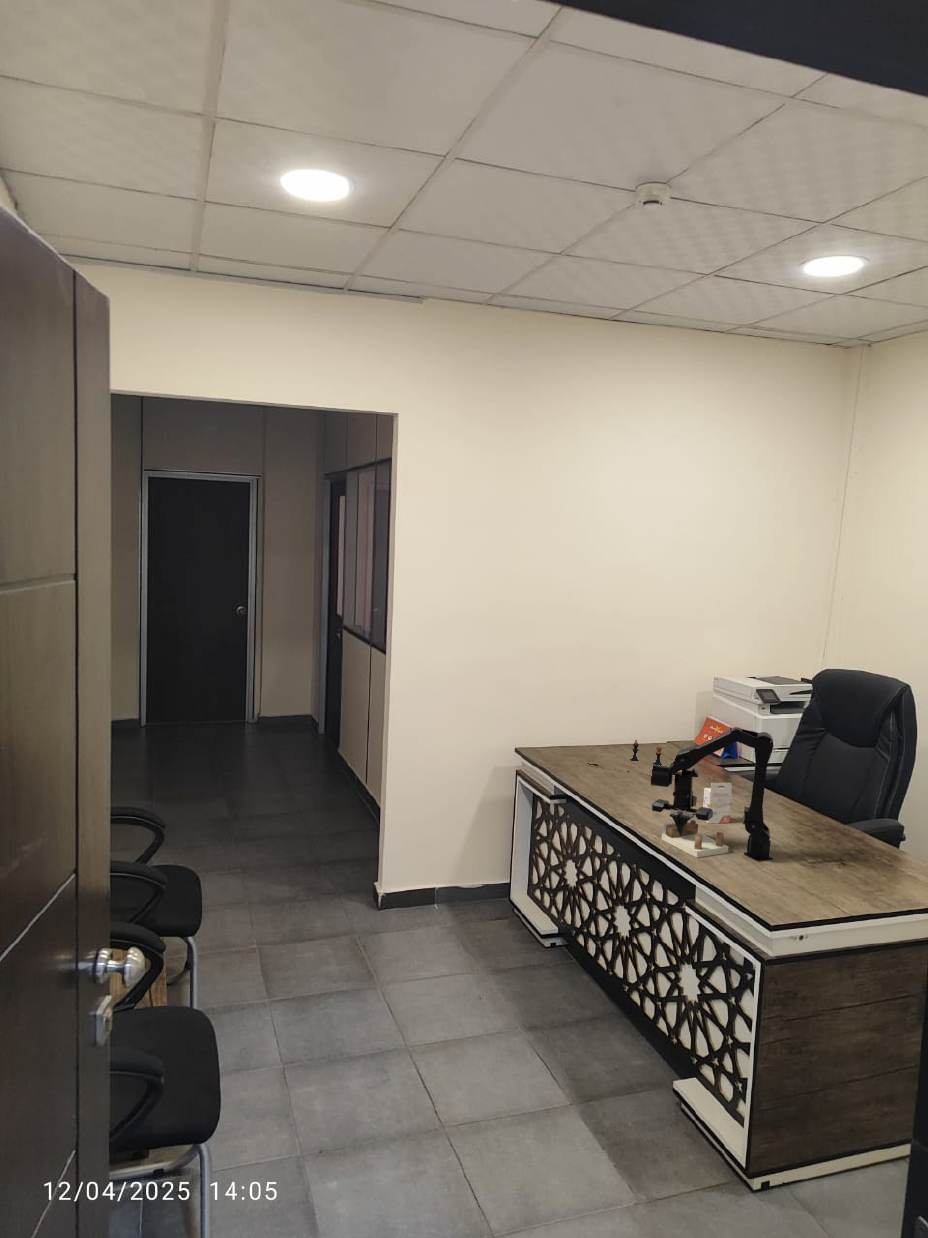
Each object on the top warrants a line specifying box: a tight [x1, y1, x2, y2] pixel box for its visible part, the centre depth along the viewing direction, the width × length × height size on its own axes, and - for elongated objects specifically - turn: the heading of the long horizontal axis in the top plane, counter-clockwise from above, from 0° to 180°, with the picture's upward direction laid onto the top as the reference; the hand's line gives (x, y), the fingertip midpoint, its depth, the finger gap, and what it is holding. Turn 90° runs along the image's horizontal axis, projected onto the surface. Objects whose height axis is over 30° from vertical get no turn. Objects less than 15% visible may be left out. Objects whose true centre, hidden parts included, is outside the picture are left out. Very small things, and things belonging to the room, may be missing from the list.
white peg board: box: [661, 822, 729, 858], centre depth 280 cm, size 17×13×6 cm
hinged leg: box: [666, 819, 699, 837], centre depth 284 cm, size 12×2×4 cm, turn 120°
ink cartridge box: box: [702, 782, 733, 824], centre depth 306 cm, size 9×5×15 cm, turn 101°
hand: (680, 835), depth 280 cm, fingers closed
